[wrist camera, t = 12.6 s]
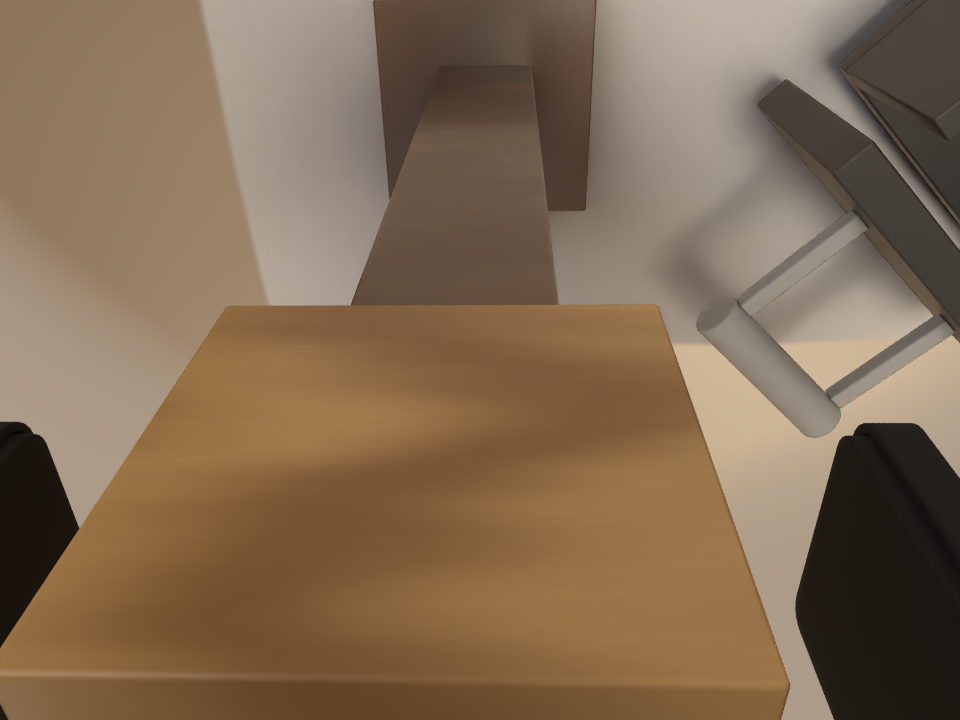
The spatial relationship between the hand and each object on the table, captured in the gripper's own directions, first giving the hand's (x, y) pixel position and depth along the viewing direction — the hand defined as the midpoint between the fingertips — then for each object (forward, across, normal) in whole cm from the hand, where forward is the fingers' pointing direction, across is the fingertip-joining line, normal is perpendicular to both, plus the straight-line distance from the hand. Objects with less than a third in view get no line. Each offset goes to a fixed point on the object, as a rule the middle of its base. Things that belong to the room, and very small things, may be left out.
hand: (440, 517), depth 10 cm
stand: (+21, 0, 0) cm, 21 cm away
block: (+1, 0, 0) cm, 1 cm away
